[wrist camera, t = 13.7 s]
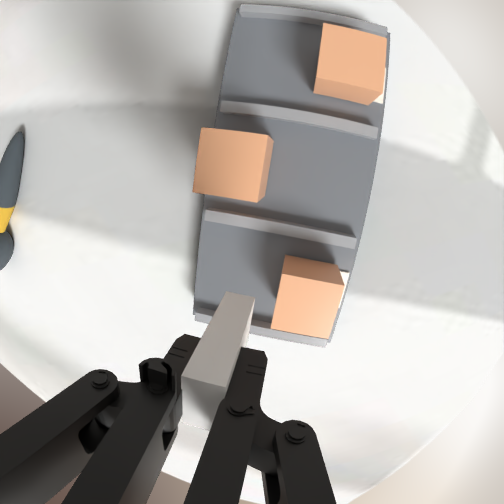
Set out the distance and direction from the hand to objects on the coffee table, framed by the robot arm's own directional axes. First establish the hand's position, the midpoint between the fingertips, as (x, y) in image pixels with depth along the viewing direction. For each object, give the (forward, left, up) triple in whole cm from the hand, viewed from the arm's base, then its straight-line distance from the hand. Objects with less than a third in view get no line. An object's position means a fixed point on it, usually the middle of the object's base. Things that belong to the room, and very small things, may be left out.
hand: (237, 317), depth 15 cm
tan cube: (+1, +4, -8) cm, 9 cm away
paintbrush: (0, -33, -11) cm, 34 cm away
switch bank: (-7, +1, -10) cm, 13 cm away
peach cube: (-7, -2, -8) cm, 11 cm away
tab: (-15, +4, -8) cm, 18 cm away
